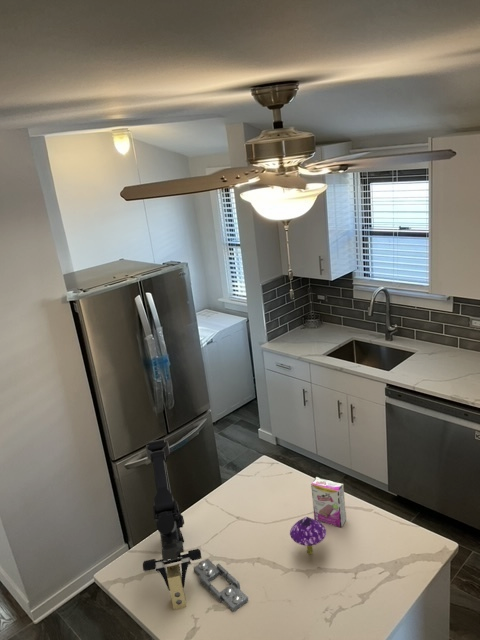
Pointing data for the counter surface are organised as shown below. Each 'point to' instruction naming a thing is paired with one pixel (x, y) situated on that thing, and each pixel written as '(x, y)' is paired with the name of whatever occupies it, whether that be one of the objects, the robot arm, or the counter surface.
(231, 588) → the chain ends
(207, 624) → the counter surface
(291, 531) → the decorative mushroom
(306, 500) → the counter surface
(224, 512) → the counter surface
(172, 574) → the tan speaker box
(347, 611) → the counter surface
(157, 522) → the robot arm
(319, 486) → the candy bar box
